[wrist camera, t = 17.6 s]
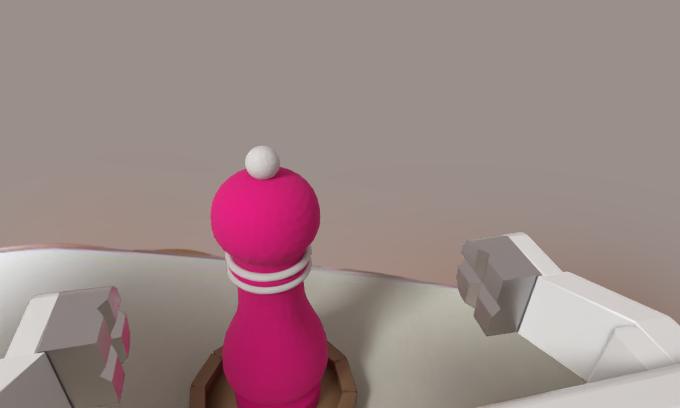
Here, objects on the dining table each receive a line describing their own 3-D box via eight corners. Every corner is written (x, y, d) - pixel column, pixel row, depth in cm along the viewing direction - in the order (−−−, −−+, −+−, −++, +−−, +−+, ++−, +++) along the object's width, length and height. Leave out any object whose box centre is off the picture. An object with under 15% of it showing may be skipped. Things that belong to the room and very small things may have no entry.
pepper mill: (212, 427, 32) (158, 171, 21) (250, 345, 38) (224, 114, 27) (313, 449, 30) (312, 192, 20) (336, 361, 36) (344, 127, 26)
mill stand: (191, 508, 28) (186, 492, 27) (195, 357, 38) (191, 340, 36) (372, 465, 30) (374, 448, 29) (333, 333, 40) (334, 317, 39)
